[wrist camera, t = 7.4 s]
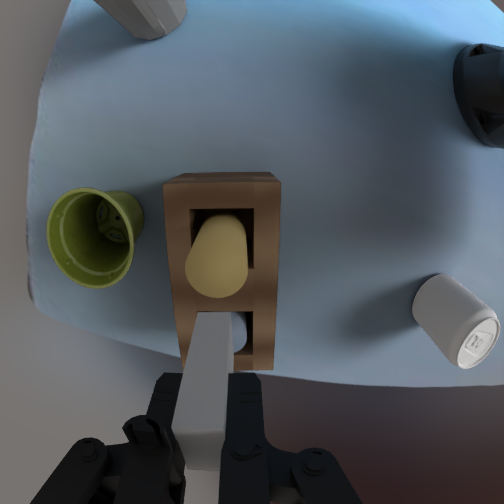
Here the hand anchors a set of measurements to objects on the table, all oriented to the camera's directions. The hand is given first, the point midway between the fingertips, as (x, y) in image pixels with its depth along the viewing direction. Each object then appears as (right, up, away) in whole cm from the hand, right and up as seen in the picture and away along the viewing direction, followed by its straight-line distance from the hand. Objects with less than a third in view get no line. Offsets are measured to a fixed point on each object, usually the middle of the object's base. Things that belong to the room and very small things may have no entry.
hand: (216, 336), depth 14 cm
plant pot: (-13, +8, +18) cm, 24 cm away
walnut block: (-1, +4, +20) cm, 20 cm away
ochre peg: (-1, +6, +12) cm, 13 cm away
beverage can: (+27, -3, +24) cm, 36 cm away
